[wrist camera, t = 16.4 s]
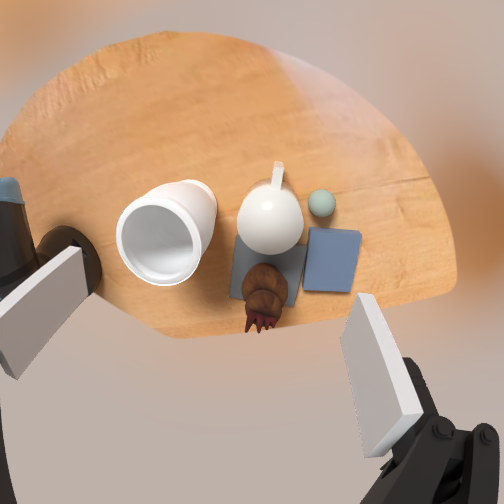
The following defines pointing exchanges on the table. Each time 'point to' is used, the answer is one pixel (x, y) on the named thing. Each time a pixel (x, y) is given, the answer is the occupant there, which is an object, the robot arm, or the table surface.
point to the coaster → (284, 262)
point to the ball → (321, 203)
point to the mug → (270, 215)
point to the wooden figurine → (264, 295)
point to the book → (331, 259)
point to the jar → (167, 231)
